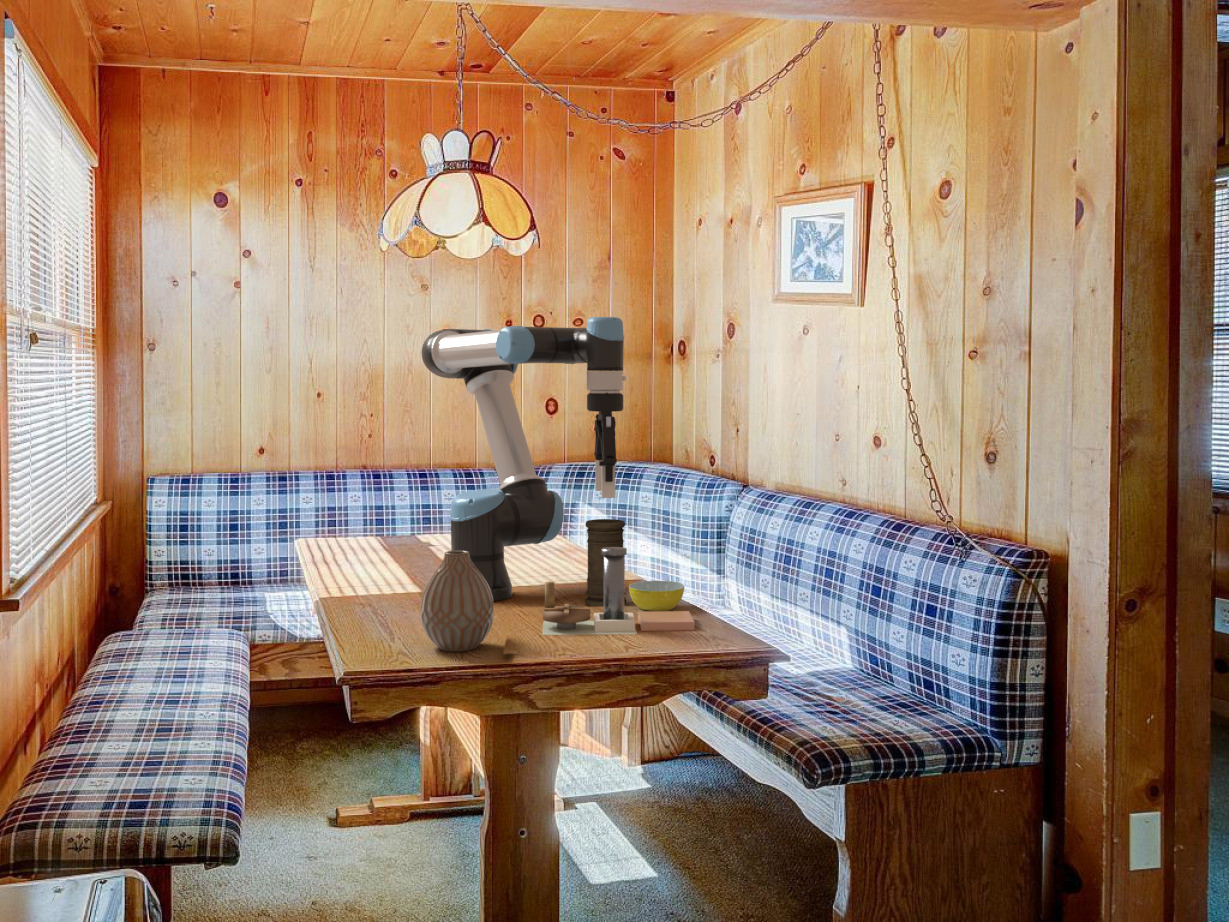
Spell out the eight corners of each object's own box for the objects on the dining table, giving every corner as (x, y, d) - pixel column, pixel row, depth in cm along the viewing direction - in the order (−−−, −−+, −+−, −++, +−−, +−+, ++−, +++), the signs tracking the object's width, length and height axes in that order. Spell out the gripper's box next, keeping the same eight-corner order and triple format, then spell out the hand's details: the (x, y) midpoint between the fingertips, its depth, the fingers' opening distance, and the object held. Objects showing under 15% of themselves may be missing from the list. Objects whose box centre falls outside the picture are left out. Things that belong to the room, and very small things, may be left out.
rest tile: (641, 638, 224) (641, 622, 223) (638, 626, 234) (638, 611, 233) (694, 637, 224) (694, 621, 224) (688, 626, 234) (688, 611, 234)
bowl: (643, 622, 237) (643, 592, 237) (619, 612, 248) (619, 582, 247) (694, 618, 242) (694, 588, 241) (668, 607, 252) (669, 578, 252)
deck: (542, 642, 220) (542, 624, 220) (543, 628, 232) (543, 611, 232) (637, 641, 221) (637, 623, 220) (633, 627, 233) (633, 610, 232)
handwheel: (542, 623, 221) (542, 588, 221) (543, 613, 230) (542, 580, 230) (590, 623, 222) (590, 588, 221) (589, 613, 230) (589, 579, 230)
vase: (407, 652, 212) (406, 555, 211) (443, 637, 225) (442, 545, 223) (473, 659, 208) (472, 559, 206) (506, 642, 220) (505, 548, 219)
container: (596, 609, 250) (596, 524, 249) (577, 602, 258) (577, 519, 257) (634, 605, 254) (634, 522, 253) (614, 598, 262) (614, 517, 261)
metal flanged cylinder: (601, 630, 224) (601, 550, 223) (601, 624, 229) (600, 546, 227) (627, 629, 224) (627, 550, 223) (626, 624, 229) (626, 546, 228)
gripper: (630, 393, 235) (630, 500, 236) (616, 390, 259) (616, 487, 261) (592, 393, 234) (592, 501, 236) (582, 390, 259) (582, 488, 260)
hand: (605, 494), depth 248 cm, fingers open, 13 cm apart
